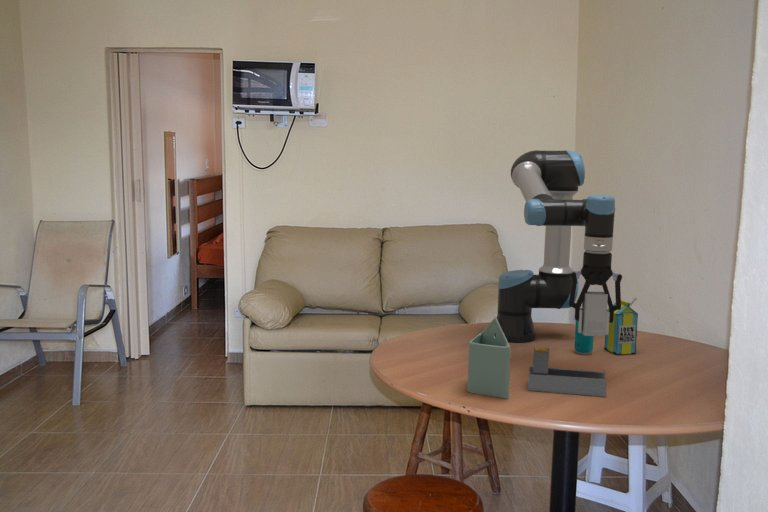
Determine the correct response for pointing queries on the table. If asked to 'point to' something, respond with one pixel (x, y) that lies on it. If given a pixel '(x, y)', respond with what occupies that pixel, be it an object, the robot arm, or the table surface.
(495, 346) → the planter
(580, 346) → the beverage can
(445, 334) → the table surface
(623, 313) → the carton
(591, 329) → the skincare box
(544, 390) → the rail
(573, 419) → the table surface
